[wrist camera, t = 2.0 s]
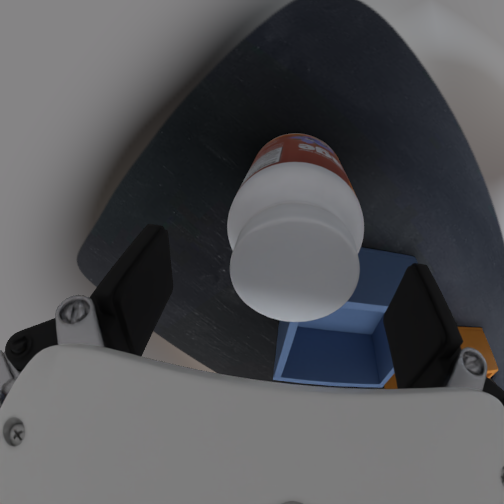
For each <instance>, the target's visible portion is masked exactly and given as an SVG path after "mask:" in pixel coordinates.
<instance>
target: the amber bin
mask: <svg viewBox="0 0 504 504" xmlns="http://www.w3.org/2000/svg"><path fill="white" fill-rule="evenodd" d="M458 329H459V332H460V334H461V337H462V339H463V341H464V342H463V343H462V344H461V346H460V347H461V349H464V348H466V347H471V348H474V349H476V350H478V351H479V352H480V353H481V354H482V356H483V357H484V358H485V361H486V363H487V375H486V377H488V378H489V379H490V378H491V377H492V376H493V375H494V374H495V372H497V371H498V367H497V364H496V362H495V359H494V356H493V354H492V351H491V349H490V346H489V344H488V342H487V339H486V337H485V335H484V332H483V330H482V328H478V327H458ZM384 387H385V389H398V388H397V383H396V378H395V373H394V374H393V376H392V377H391V378H390V379H389V380H388V381H387V383H386V384H385V385H384Z"/></svg>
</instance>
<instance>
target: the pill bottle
mask: <svg viewBox="0 0 504 504" xmlns="http://www.w3.org/2000/svg"><path fill="white" fill-rule="evenodd" d="M227 231H228V238H229V242H230V245H231V248H232V250H233V253H232V256H231V260H230V276H231V280H232V283H233V286H234V288H235V290H236V292H237V293H238V295H239V296H240V298H241V299H242V300H243V301H244V302H245V303H246V304H247V305H248V306H250V307H251V308H252V309H254V310H255V311H257V312H259V313H261V314H263V315H265V316H267V317H270V318H273V319H277V320H281V321H287V322H305V321H311V320H315V319H319V318H322V317H325V316H327V315H329V314H331V313H333V312H335V311H336V310H338V309H339V308H340V307H342V306H343V305H344V304H345V303H346V302H347V301H348V300H349V298H350V297H351V296H352V294H353V292H354V290H355V288H356V286H357V283H358V280H359V274H360V264H359V258H358V253H359V250H360V248H361V245H362V241H363V236H364V219H363V214H362V210H361V207H360V204H359V201H358V199H357V197H356V194H355V192H354V190H353V188H352V185H351V183H350V181H349V179H348V177H347V175H346V173H345V171H344V169H343V167H342V165H341V163H340V161H339V159H338V157H337V156H336V154H335V153H334V151H333V150H332V149H331V148H330V147H329V146H328V145H327V144H326V143H324V142H323V141H321V140H319V139H318V138H315V137H313V136H310V135H307V134H301V133H291V134H285V135H282V136H279V137H276V138H274V139H273V140H271V141H270V142H268V143H267V144H266V145H265V146H264V147H263V148H262V149H261V150H260V151H259V153H258V154H257V156H256V158H255V160H254V162H253V164H252V165H251V167H250V169H249V171H248V173H247V175H246V177H245V179H244V181H243V183H242V185H241V187H240V188H239V190H238V192H237V194H236V196H235V198H234V200H233V203H232V205H231V208H230V211H229V215H228V222H227Z"/></svg>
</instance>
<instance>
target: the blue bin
mask: <svg viewBox="0 0 504 504" xmlns="http://www.w3.org/2000/svg"><path fill="white" fill-rule="evenodd" d="M358 258H359V264H360V274H359V280H358V283H357V286H356V288H355V290H354V292H353V294H352V296H351V297H350V298H349V300H348V301H347V302H346V303H345V304H344V305H343V306H342V307H340V308H339V309H338V310H336V311H335V312H333V313H331V314H329V315H327V316H325V317H322V318H319V319H315V320H311V321H305V322H287V321H281V320H280V322H279V330H278V339H277V348H276V357H275V366H274V375H273V380H280V381H288V382H297V383H306V384H317V385H330V386H347V387H383V386H384V385H385V384H386V383H387V381H388V380H389V379H390V378H391V377H392V376H393V374H394V373H395V372H394V367H393V363H392V358H391V353H390V349H389V345H388V340H387V336H386V332H385V328H384V324H383V317H384V314H385V312H386V310H387V308H388V306H389V304H390V302H391V300H392V298H393V296H394V294H395V292H396V290H397V288H398V286H399V284H400V282H401V280H402V278H403V275H404V273H405V271H406V269H407V267H408V266H411V265H412V264H413V263H417V261H416V259H415V257H414V256H409V255H404V254H398V253H392V252H387V251H381V250H375V249H369V248H364V247H361V248H360V250H359V253H358ZM417 264H418V263H417Z"/></svg>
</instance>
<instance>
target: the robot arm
mask: <svg viewBox="0 0 504 504" xmlns="http://www.w3.org/2000/svg"><path fill="white" fill-rule="evenodd" d="M172 290H173V279H172V270H171V260H170V250H169V238H168V231H167V230H164V227H163V226H160V225H152V224H148V225H147V226H146V227H145V228H144V229H143V230H142V232H141V233H140V234H139V235H138V236H137V238H136V239H135V240H134V241H133V242H132V244H131V245H130V246H129V247H128V248H127V250H126V251H125V252H124V253H123V255H122V256H121V257H120V258H119V260H118V261H117V262H116V263H115V265H114V266H113V267H112V268H111V270H110V271H109V272H108V274H107V275H106V276H105V277H104V279H103V280H102V281H101V283H100V284H99V285H98V287H97V288H96V290H95V291H94V292H93V294H92V295H91V296H90V298H89V297H86V296H84V295H76V296H72V297H69V298H67V299H65V300H64V301H63V302H62V303H61V304H60V305H59V306H58V308H57V310H56V315H55V318H54V319H52V320H49V321H46V322H43V323H41V324H38V325H35V326H33V327H30V328H27V329H24V330H22V331H19V332H17V333H15V334H14V335H13V336H12V337H11V338H10V339H9V340H8V342H7V344H6V347H5V352H4V353H3V352H2V351H0V504H504V391H503V390H502V389H501V388H500V387H499V386H497V385H496V384H495V383H494V382H493V381H491V380H490V379H489V378H488V377H486V375H487V363H486V361H485V358H484V357H483V356H482V354H481V353H480V352H479V351H478V350H476V349H474V348H471V347H466V348H464V349H461V347H460V346H461V344H462V343H463V342H464V341H463V339H462V337H461V334H460V332H459V329H458V327H457V325H456V323H455V320H454V318H453V316H452V314H451V312H450V310H449V307H448V305H447V303H446V301H445V299H444V297H443V295H442V293H441V291H440V289H439V287H438V285H437V283H436V281H435V279H434V278H433V276H432V274H431V272H430V270H429V268H428V267H427V265H423V264H417V263H413V264H412V265H411V266H408V267H407V269H406V271H405V273H404V275H403V278H402V280H401V282H400V284H399V286H398V288H397V290H396V292H395V294H394V296H393V298H392V300H391V302H390V304H389V306H388V308H387V310H386V312H385V314H384V317H383V324H384V328H385V332H386V336H387V340H388V345H389V349H390V353H391V358H392V363H393V367H394V372H395V378H396V383H397V388H398V389H356V388H333V387H318V386H306V385H295V384H285V383H277V382H269V381H261V380H254V379H247V378H241V377H235V376H229V375H223V374H217V373H212V372H207V371H202V370H197V369H192V368H188V367H182V366H179V365H174V364H170V363H165V362H162V361H157V360H153V359H149V358H145V357H141V356H142V354H143V352H144V350H145V347H146V345H147V343H148V341H149V339H150V337H151V334H152V332H153V330H154V328H155V326H156V324H157V322H158V320H159V318H160V316H161V314H162V311H163V309H164V307H165V305H166V303H167V301H168V299H169V297H170V295H171V293H172Z"/></svg>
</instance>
